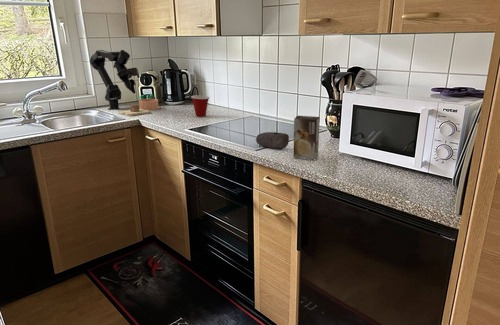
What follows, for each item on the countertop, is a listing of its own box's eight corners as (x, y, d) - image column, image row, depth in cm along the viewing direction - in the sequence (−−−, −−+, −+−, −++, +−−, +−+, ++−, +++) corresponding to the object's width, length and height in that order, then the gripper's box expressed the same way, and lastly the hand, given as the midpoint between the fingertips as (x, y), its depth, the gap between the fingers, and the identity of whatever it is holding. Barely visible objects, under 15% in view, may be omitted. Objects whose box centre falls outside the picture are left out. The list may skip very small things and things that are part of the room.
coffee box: (318, 156, 151) (320, 116, 146) (315, 160, 146) (317, 119, 140) (296, 153, 154) (297, 115, 149) (292, 158, 149) (293, 118, 144)
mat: (118, 114, 234) (118, 113, 234) (139, 110, 244) (139, 110, 244) (130, 117, 224) (130, 116, 224) (152, 114, 235) (152, 113, 234)
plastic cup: (209, 117, 222) (208, 97, 219) (190, 118, 223) (189, 97, 219) (211, 114, 233) (210, 94, 229) (193, 114, 233) (192, 94, 229)
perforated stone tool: (253, 146, 165) (253, 131, 162) (259, 143, 169) (259, 128, 167) (284, 151, 157) (284, 135, 155) (289, 148, 162) (290, 132, 159)
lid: (119, 113, 234) (118, 105, 232) (139, 110, 244) (138, 102, 242) (130, 116, 225) (129, 107, 223) (151, 113, 234) (150, 104, 233)
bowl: (136, 109, 249) (135, 100, 247) (152, 107, 257) (151, 98, 255) (146, 111, 241) (145, 102, 239) (162, 109, 249) (161, 100, 247)
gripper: (129, 56, 224) (140, 77, 221) (137, 70, 242) (148, 90, 239) (112, 64, 222) (123, 86, 220) (121, 78, 240) (132, 98, 238)
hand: (132, 90), depth 229 cm, fingers open, 9 cm apart
